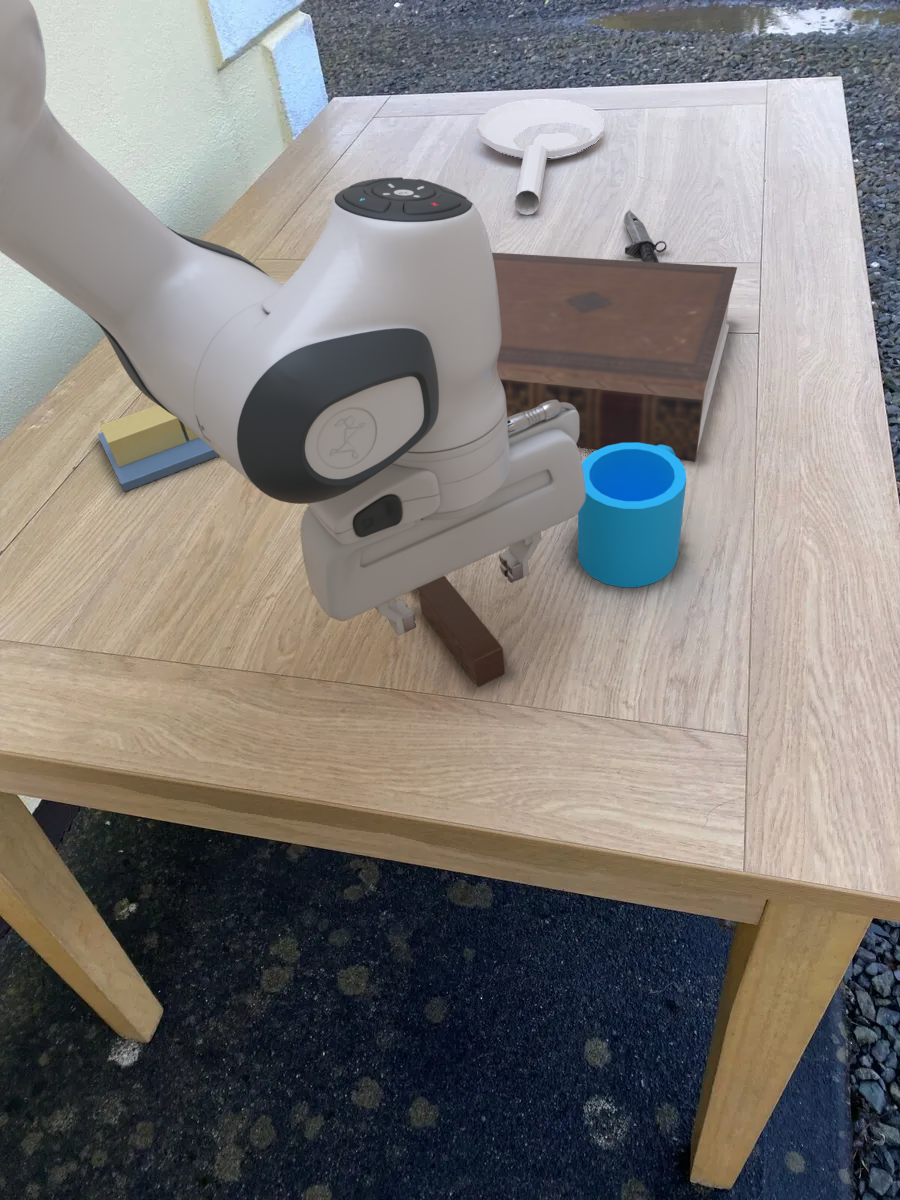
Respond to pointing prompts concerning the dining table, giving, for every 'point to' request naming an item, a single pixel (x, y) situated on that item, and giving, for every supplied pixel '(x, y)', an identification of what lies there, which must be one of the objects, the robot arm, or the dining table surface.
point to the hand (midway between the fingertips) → (459, 600)
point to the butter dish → (160, 463)
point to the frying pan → (536, 139)
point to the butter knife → (462, 631)
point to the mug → (631, 513)
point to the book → (614, 344)
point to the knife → (640, 240)
